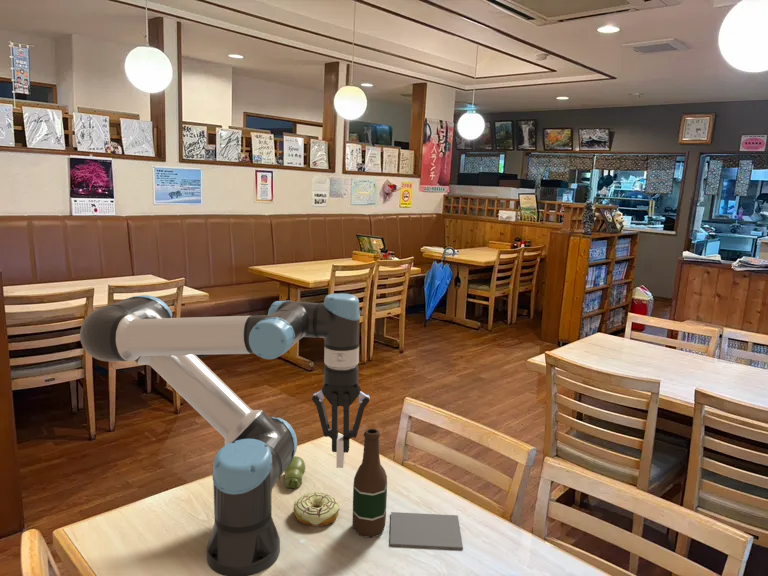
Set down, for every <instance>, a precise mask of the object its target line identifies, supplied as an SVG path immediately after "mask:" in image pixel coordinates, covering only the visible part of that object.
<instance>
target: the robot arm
mask: <svg viewBox="0 0 768 576" xmlns="http://www.w3.org/2000/svg"><path fill="white" fill-rule="evenodd" d="M360 320H361V314H360V299H359V298H358V297H357V296H356V295H354V294H352V293H351V294H350V293H342V292H341V293H330V294H327V295H326V296H325V297H324V301H323V302H308V301H307V302H306V301H292V300H291V299H290V300H289V299H288V300H276V301H274V302H273V303H272V304H271V305H270V307H269V308H268V313H267V315H266V314H263V315H230V316H229V315H228V316H227V315H226V316H225V315H224V316H201V317H200V316H199V317H198V316H195V317H193V316H192V317H173V313H172V311H171V308H170V307H169V306H168V304H167V303H166V302H165V301H163V300H161V299H160V298H158V297H157V296H154V295H153V296H152V295H147V294H145V295H136V296H135V295H134V296H131V297H127V298H126V299H123V300H122V301H117V302H115V303H112V304H108V305H106V306H102V307H100V308H97V309H95V310H93V311H92V312H90V313H89V314H88V315H87V316H86V318H84V320H83V322H82V324H81V327H80V331H79V339H80V344H81V345H82V348H83V349H84V351H85V352H86V353H87V354H88V355H89V356H91V357H92V358H94V359H96V360H99V361H102V362H109V363H110V362H116V363H117V362H135V363H136V364H138V365H139V366H145V365H146V366H150V367H151V368H152V369H153V370H154V371H155V372H156V373H157V374H158V375H159V376H161V378H162V379H163V380H164V381H165V382H167V384H168V385H170V387H172V389H174V390H175V391H176V392H177V393H178V394H179V395H180V397H182V398H183V399H184V400H185V401H186V402H187V403H188V404H189V405H190V406H191V407H192V408H193V409H194V410H195V411H196V412H197V413H198V414H199V415H200V416H201V417H203V419H205V420H206V421H207V422H208V424H209V425H210V426H211V427H212V428H213V429H215V430H216V431H217V433H219V434H220V435H221V436H222V437H223V438H224V445H223V447H221V448H220V449H219V450H218V452H217V453H216V454H215V457H214V459H213V469H212V475H211V477H212V482H213V485H212V486H213V508H214V510H213V511H214V513H213V514H214V524H213V527H212V528H211V529H212V530H211V534H210V536H209V538H208V542H207V546H206V562H207V565H208V567H209V568H210V569H211V570H212V571H213V572H215V573H216V574H217V575H221V576H253V575H256V574H259V573H261V572H263V571H265V570H267V569H269V568H271V566H272V565H273V564H274V563H275V562H276V561H277V559H278V558H279V556H280V553H281V539H280V535H279V532H278V529H277V528H276V524H275V522H274V519H273V516H272V515H273V514H272V505H273V504H272V503H273V502H272V495H273V494H272V492H273V489H274V487H275V486H276V485H277V483H278V481H279V480H280V478H282V475H283V474H284V471H285V469H286V468H287V467H288V466H289V465H290V464H291V462H292V460H293V457H294V456H295V455H296V453H297V449H298V440H297V439H298V438H297V435H296V432H295V429H294V428H293V427H292V425H291V424H290V423H289V422H288V421H287V420H285V419H283V418H280V417H275V416H271V417H270V416H269V415H267V413H266V412H265V411H263V409H253V408H251V407H249V406H248V404H246V403H245V401H243V400H242V399H241V397H239V396H238V395H237V394H236V393H235V391H233V390H232V389H231V388H230V387H229V386H228V385H227V384H226V382H224V381H223V380H222V379H221V378H220V377H219V376H218V375H217V374H216V373H214V371H212V369H211V368H210V367H208V365H207V364H206V363H204V361H203V360H202V359H200V358H199V357H198V355H204V356H206V355H210V356H211V355H250V354H252V355H253V354H254V355H256V356H257V357H259V358H262V359H263V360H264V359H265V360H273V359H277V358H279V357H281V356H282V355H285V354H286V353H288V351H289V350H291V348H292V347H293V346H294V345H295V344H296V343H298V342H299V341H300V340H301V339H302V338H316V339H317V338H318V339H321V338H322V339H323V341H324V342H323V343H324V345H323V346H324V347H323V348H324V351H323V352H324V354H323V355H324V356H323V357H324V358H323V360H324V362H323V363H324V367H323V369H324V370H323V371H324V372H323V386H322V387H321V390H319V391H316V392H315V391H314V392H313V395H312V397H311V400H312V402H313V403H314V405H315V406H316V410H317V415H318V417H319V422H320V425H321V429H322V433H323V436H324V437H325V438H326V437H328V438H330V439H331V451H332V453H336V464H335V465H336V468H337V469H341V468H342V469H343V468H344V466H345V453H349V452H350V440H351V439H352V438H354V439H356V438H357V436H358V434H359V433H358V432H359V429H360V426H361V422H362V418H363V414H364V411H365V408H366V406H367V405H369V402H370V399H371V395H370V394H369V393H364V392H363V391H362V390H361V389H362V388H361V386H360V384H359V378H360V377H359V376H360V375H359V371H360V370H359V365H358V364H359V363H360ZM324 398H326V400H327V402H329V404H330V405H331V426H330V423H329V419H328V414H327V410H326V407H325V402H324ZM357 398H358V403H359V405H358V408H357V413H356V415H355V419H354V423H353V427H352V429H351V405H352V404H353V403H354V402H355V401H356V400H357ZM339 407H342V409H343V410H342V411H343V423H342V424H343V426H342V430H343V433H342V434H343V435H342V434H339V410H340V409H339Z"/></svg>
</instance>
